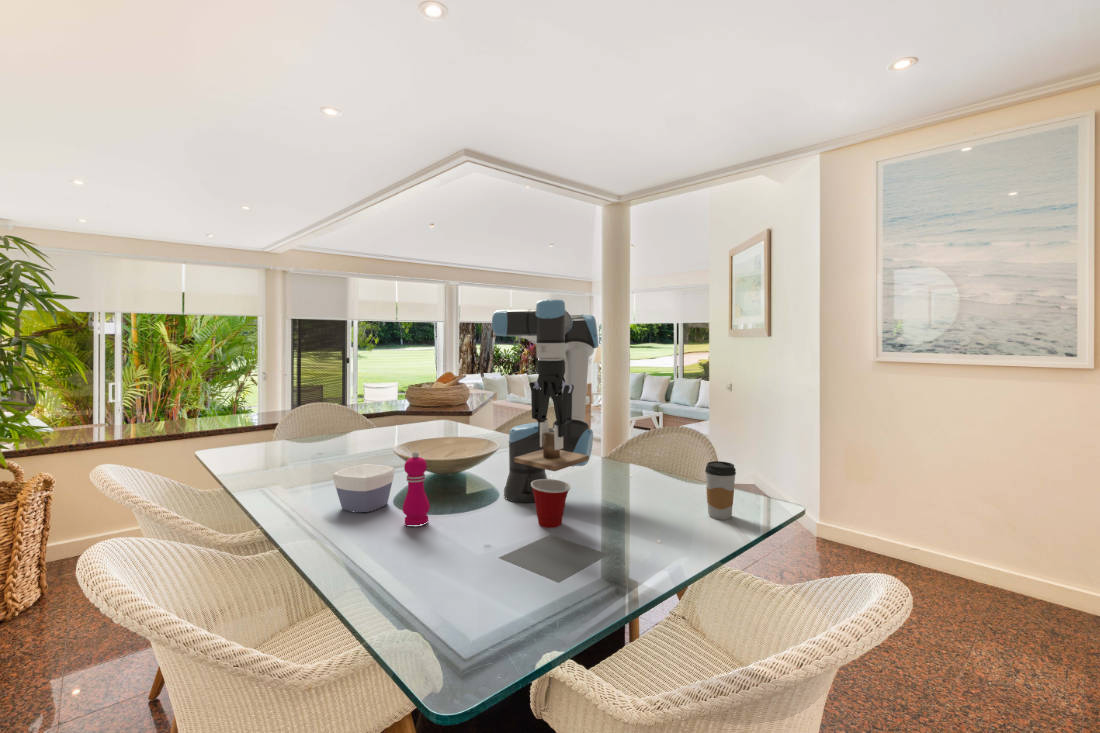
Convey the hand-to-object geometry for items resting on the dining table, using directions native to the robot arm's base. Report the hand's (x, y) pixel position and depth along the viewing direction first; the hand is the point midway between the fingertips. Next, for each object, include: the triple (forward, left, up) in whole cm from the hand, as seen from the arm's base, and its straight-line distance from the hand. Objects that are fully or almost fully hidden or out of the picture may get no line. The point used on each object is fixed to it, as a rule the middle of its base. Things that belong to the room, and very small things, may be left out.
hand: (551, 447), depth 134 cm
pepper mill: (-31, -21, -22) cm, 44 cm away
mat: (+13, -14, -22) cm, 29 cm away
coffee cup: (+30, +39, -22) cm, 54 cm away
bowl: (-55, -23, -22) cm, 64 cm away
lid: (0, 0, -4) cm, 4 cm away
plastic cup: (-1, +1, -22) cm, 22 cm away
